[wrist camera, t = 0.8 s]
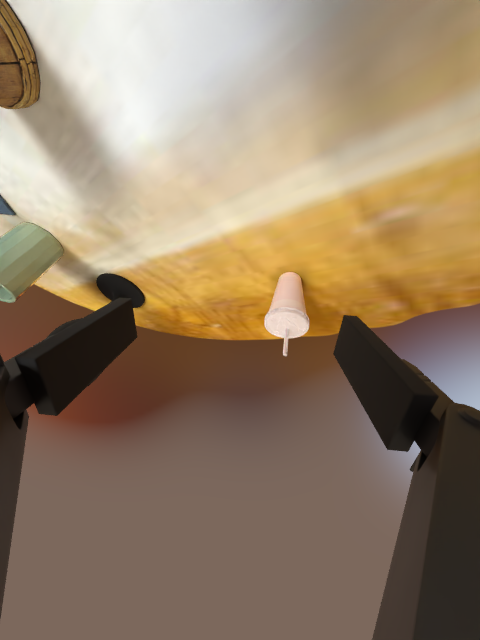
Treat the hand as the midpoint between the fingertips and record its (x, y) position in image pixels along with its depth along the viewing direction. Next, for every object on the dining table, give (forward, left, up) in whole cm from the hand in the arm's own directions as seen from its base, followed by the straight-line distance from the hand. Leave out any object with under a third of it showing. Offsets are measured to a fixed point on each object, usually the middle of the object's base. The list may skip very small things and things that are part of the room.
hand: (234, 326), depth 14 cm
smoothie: (+15, +5, -21) cm, 26 cm away
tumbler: (+14, -41, -21) cm, 48 cm away
